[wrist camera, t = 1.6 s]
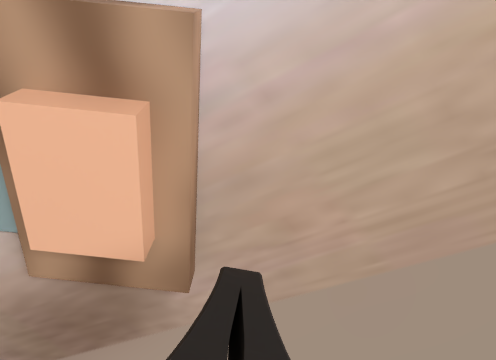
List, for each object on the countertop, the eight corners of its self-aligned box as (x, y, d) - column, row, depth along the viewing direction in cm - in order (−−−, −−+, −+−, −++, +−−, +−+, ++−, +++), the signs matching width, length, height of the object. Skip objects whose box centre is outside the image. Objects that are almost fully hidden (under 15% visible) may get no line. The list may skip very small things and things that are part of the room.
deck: (45, 255, 25) (29, 276, 23) (-13, -13, 17) (-45, -12, 16) (194, 270, 25) (188, 293, 23) (201, 9, 17) (193, 12, 16)
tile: (50, 227, 21) (30, 249, 20) (22, 88, 17) (-6, 100, 16) (154, 238, 21) (144, 261, 20) (149, 101, 17) (135, 115, 16)
